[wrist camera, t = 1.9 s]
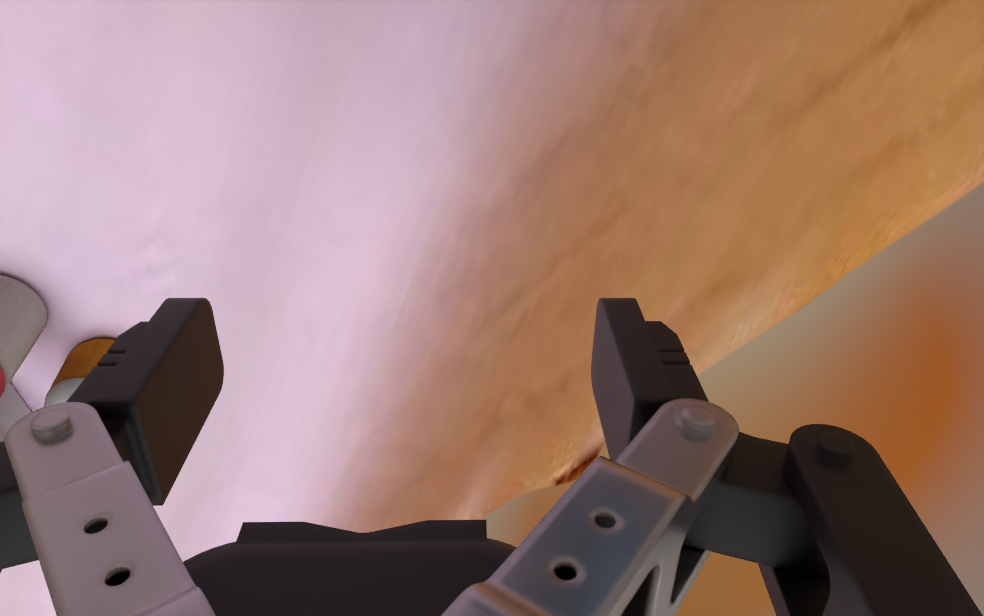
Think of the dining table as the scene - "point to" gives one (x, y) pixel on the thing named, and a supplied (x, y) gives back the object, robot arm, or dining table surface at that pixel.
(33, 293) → the toy food
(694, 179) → the dining table surface
